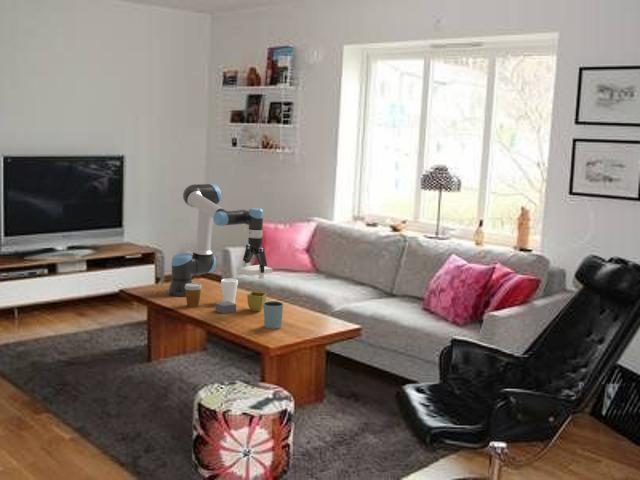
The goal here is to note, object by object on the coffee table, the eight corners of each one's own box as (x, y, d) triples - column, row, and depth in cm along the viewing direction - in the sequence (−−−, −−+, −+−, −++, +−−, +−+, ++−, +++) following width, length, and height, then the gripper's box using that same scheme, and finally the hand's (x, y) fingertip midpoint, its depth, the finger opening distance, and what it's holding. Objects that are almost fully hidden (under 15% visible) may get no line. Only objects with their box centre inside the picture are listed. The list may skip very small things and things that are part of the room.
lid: (236, 271, 393) (236, 267, 393) (259, 269, 402) (259, 264, 402) (249, 275, 384) (249, 271, 383) (272, 273, 393) (272, 268, 393)
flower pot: (261, 312, 392) (262, 296, 391) (246, 311, 394) (246, 295, 393) (266, 308, 401) (266, 292, 399) (251, 307, 402) (251, 291, 401)
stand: (215, 310, 393) (215, 303, 392) (227, 308, 398) (227, 301, 397) (223, 313, 387) (223, 306, 386) (235, 311, 392) (236, 304, 392)
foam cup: (226, 305, 404) (227, 282, 402) (217, 302, 411) (217, 279, 409) (240, 303, 410) (241, 280, 408) (231, 299, 417) (231, 277, 415)
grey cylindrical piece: (279, 330, 361) (280, 306, 359) (260, 328, 363) (260, 304, 361) (284, 324, 371) (285, 301, 369) (265, 323, 373) (266, 300, 371)
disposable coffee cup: (182, 304, 402) (182, 283, 400) (199, 303, 406) (199, 282, 404) (186, 308, 394) (186, 287, 392) (203, 307, 397) (204, 286, 395)
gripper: (237, 234, 397) (236, 273, 400) (262, 240, 379) (261, 281, 382) (248, 233, 402) (247, 271, 405) (274, 239, 383) (273, 279, 387)
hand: (254, 276), depth 394 cm, fingers closed on lid, 12 cm apart
